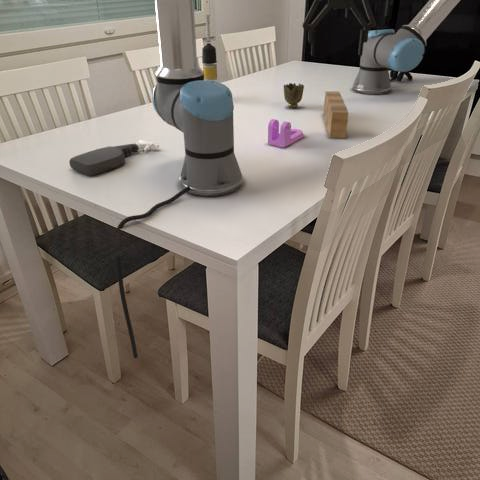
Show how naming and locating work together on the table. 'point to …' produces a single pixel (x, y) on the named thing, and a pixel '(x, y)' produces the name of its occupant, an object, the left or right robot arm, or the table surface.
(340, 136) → the bar
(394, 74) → the squiggle
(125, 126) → the table surface
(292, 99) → the cup
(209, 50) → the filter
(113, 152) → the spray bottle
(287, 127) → the bracket
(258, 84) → the table surface
